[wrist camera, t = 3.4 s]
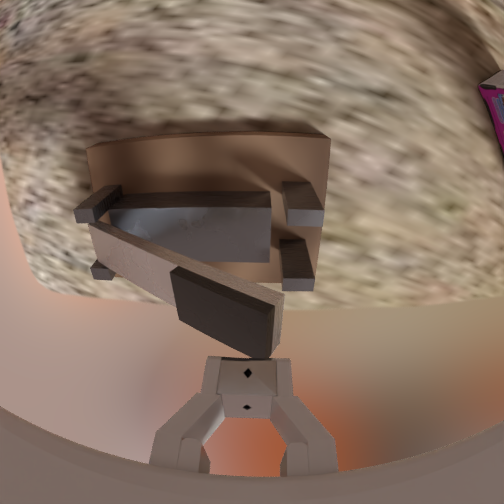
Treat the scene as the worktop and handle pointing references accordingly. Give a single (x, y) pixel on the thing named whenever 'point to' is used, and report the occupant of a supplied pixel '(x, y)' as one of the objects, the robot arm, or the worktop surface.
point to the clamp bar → (196, 291)
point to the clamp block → (212, 225)
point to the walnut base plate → (221, 177)
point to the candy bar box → (495, 102)
